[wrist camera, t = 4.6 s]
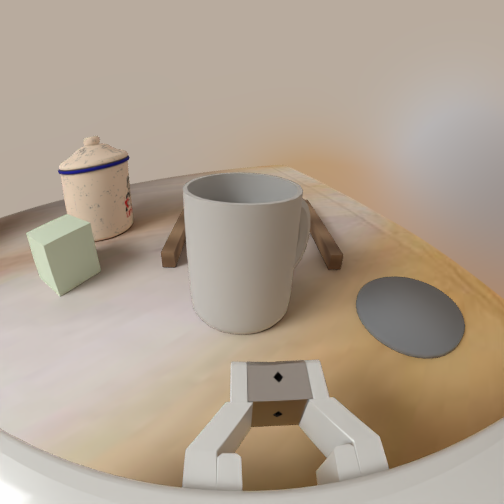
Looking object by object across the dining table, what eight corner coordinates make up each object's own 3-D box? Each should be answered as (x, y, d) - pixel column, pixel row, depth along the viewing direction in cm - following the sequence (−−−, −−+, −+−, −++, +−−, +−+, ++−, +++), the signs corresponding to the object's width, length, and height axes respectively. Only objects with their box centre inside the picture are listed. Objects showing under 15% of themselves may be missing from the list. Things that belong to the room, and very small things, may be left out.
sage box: (40, 278, 22) (26, 233, 20) (77, 257, 26) (67, 213, 23) (60, 297, 20) (43, 245, 18) (101, 271, 24) (90, 222, 21)
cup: (176, 295, 22) (164, 182, 17) (272, 259, 27) (279, 165, 23) (227, 353, 17) (224, 215, 12) (331, 296, 22) (352, 188, 18)
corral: (340, 269, 26) (343, 255, 25) (162, 267, 25) (160, 252, 24) (306, 209, 40) (307, 199, 39) (190, 207, 39) (189, 197, 38)
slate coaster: (342, 339, 18) (344, 333, 18) (365, 272, 26) (366, 267, 26) (466, 370, 14) (469, 364, 14) (456, 295, 22) (458, 290, 22)
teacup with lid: (146, 228, 32) (139, 131, 27) (77, 251, 27) (58, 146, 21) (116, 205, 40) (110, 130, 34) (63, 221, 34) (51, 143, 29)
